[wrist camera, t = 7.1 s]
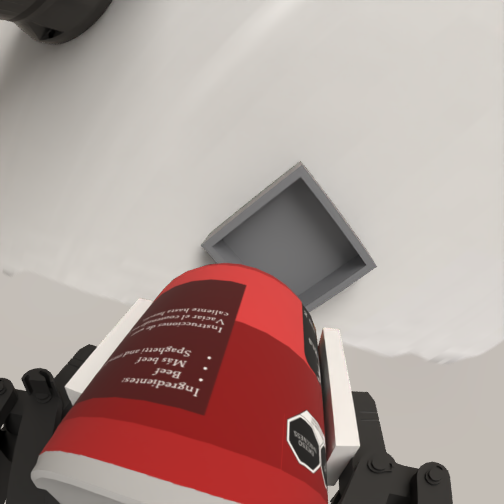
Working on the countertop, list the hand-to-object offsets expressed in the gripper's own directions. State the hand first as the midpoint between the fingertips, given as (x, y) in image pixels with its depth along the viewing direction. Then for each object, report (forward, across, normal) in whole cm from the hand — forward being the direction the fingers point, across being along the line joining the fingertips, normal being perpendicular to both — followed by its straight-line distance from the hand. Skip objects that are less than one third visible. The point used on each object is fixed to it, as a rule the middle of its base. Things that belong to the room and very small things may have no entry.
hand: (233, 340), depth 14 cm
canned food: (+1, 0, 0) cm, 1 cm away
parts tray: (+21, +3, -2) cm, 21 cm away
